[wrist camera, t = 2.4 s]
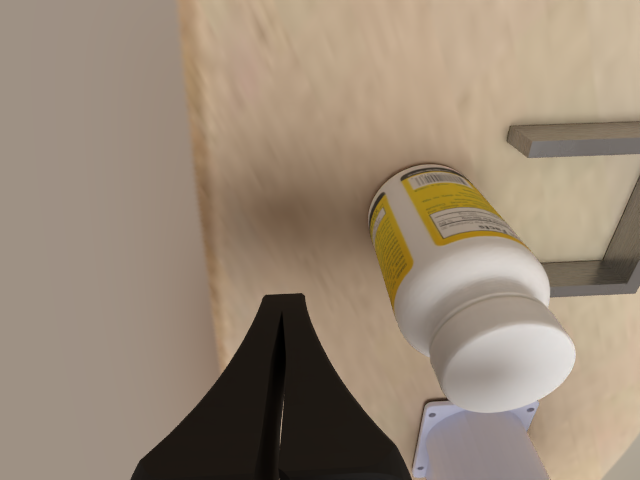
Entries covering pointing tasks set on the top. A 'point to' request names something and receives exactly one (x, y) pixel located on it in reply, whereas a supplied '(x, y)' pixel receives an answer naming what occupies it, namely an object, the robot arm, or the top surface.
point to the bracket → (636, 223)
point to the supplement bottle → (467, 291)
